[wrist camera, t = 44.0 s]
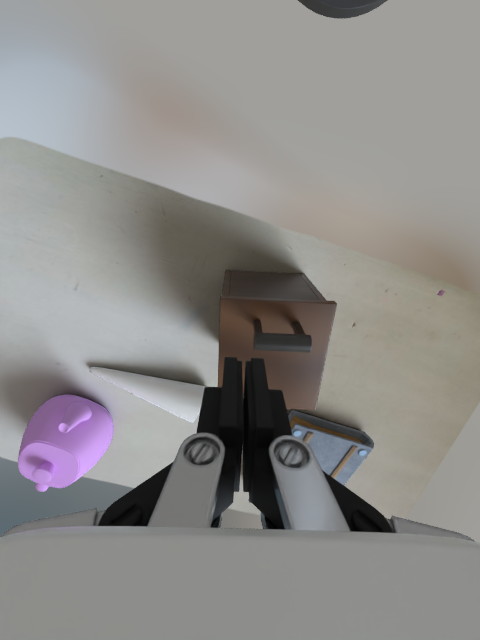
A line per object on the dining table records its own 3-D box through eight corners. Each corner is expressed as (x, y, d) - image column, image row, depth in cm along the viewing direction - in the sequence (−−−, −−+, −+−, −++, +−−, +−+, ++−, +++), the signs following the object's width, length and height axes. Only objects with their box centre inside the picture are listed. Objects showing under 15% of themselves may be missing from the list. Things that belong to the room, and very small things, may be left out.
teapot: (101, 461, 57) (69, 523, 47) (33, 437, 55) (-18, 497, 44) (137, 390, 50) (109, 443, 40) (61, 358, 48) (9, 407, 37)
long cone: (105, 334, 48) (211, 380, 49) (98, 362, 51) (199, 404, 52) (84, 353, 43) (203, 403, 44) (78, 382, 46) (190, 429, 47)
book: (316, 499, 62) (322, 524, 58) (246, 481, 60) (246, 505, 55) (367, 431, 55) (379, 453, 50) (289, 407, 52) (294, 427, 47)
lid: (220, 295, 29) (217, 317, 24) (334, 300, 29) (355, 323, 24) (217, 402, 34) (214, 438, 29) (314, 405, 35) (327, 442, 29)
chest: (225, 269, 42) (220, 302, 29) (304, 273, 42) (333, 308, 29) (223, 345, 47) (217, 401, 34) (293, 348, 47) (314, 405, 35)
